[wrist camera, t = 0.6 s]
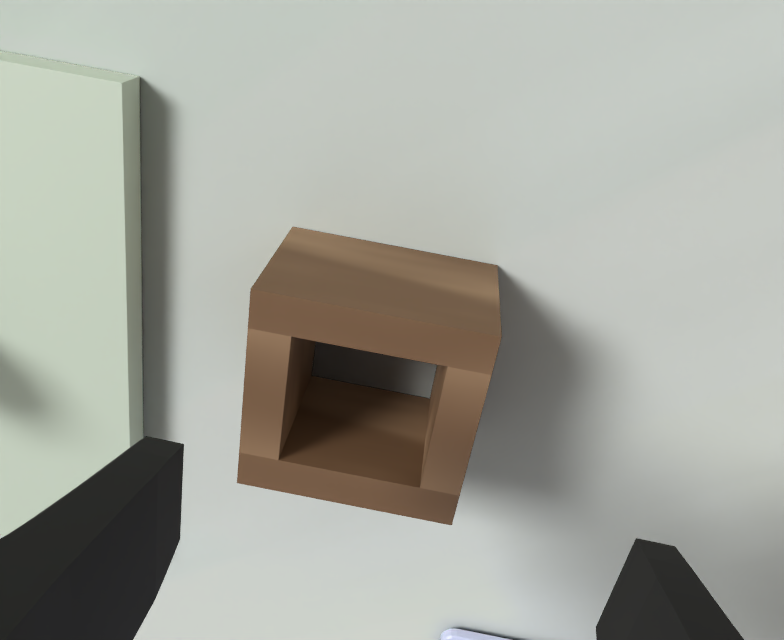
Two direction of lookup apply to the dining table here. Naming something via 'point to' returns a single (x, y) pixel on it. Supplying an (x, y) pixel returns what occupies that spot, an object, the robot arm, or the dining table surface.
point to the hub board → (67, 278)
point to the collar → (361, 403)
